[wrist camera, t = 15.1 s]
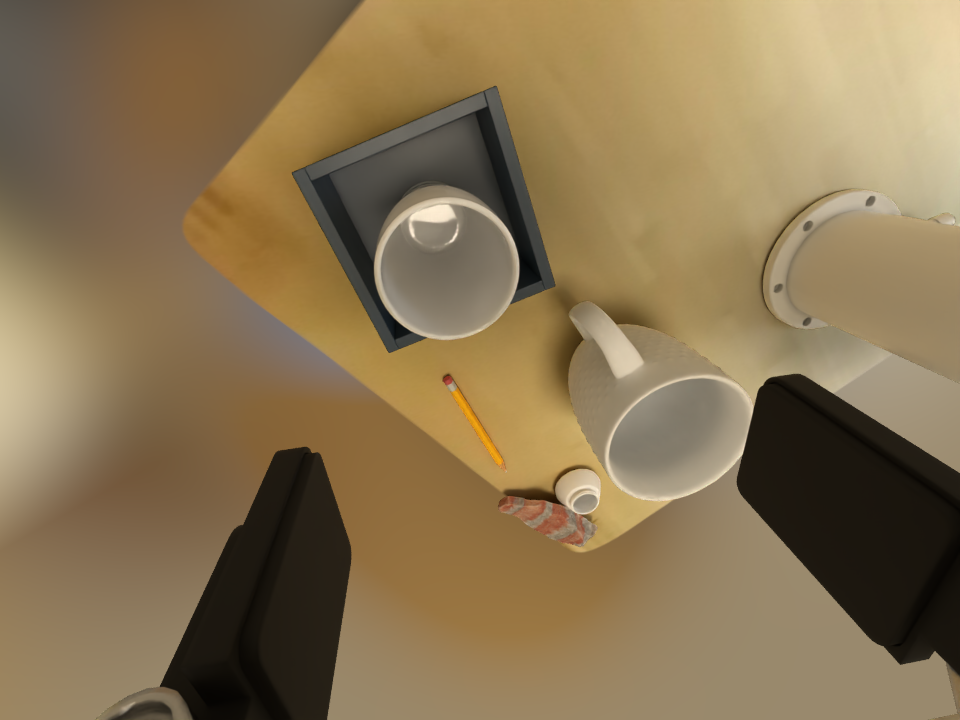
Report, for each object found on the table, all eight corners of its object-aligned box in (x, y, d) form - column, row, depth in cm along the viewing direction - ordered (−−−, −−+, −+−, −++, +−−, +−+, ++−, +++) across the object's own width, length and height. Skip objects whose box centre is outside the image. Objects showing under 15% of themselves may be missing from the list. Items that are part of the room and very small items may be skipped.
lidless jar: (584, 458, 47) (545, 483, 48) (594, 477, 45) (553, 503, 45) (605, 484, 49) (568, 507, 50) (616, 504, 47) (577, 528, 48)
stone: (491, 514, 48) (519, 498, 45) (494, 493, 50) (521, 477, 46) (577, 556, 51) (608, 544, 48) (577, 536, 53) (607, 523, 50)
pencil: (449, 374, 40) (451, 378, 39) (509, 468, 47) (510, 473, 46) (442, 378, 40) (443, 382, 39) (502, 472, 47) (504, 476, 46)
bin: (479, 94, 31) (496, 85, 25) (531, 261, 37) (556, 286, 31) (313, 165, 31) (290, 172, 25) (391, 317, 37) (388, 353, 31)
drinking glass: (431, 146, 31) (449, 158, 18) (495, 218, 34) (551, 274, 21) (367, 217, 32) (338, 275, 19) (433, 279, 35) (448, 368, 22)
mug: (505, 320, 39) (546, 399, 27) (612, 243, 37) (705, 293, 25) (584, 425, 45) (644, 525, 34) (678, 365, 44) (775, 448, 32)
